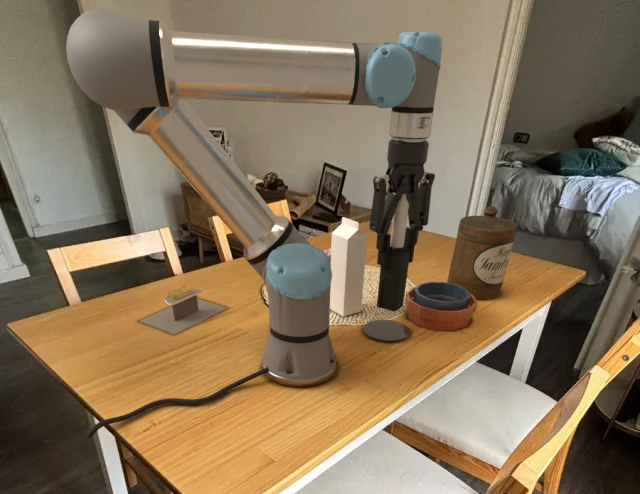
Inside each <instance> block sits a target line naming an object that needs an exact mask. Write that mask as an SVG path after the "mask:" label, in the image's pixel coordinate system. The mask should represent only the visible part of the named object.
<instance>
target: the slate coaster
mask: <svg viewBox="0 0 640 494" xmlns="http://www.w3.org/2000/svg"><path fill="white" fill-rule="evenodd" d="M362 333H363V335H364V336H365V337H366V338H368V339H370V340H372V341H375V342H379V343H385V344H386V343H387V344H389V343H390V344H393V343H400V342H404V341H405V340H406V339H408V338H409V337H410V333H411V331H410V329H409V327H408V326H407V325H405V324H404V323H402V322H399V321H396V320H391V319H375V320H371V321H368V322H366V323H365V324H364V325H363V327H362Z"/></svg>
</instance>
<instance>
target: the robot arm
mask: <svg viewBox="0 0 640 494" xmlns="http://www.w3.org/2000/svg"><path fill="white" fill-rule="evenodd" d="M442 48H443V39H442V36H441V35H440V34H439V33H438V32H432V31H402V32H401V33H400V34H399V35H398V39H397V43H394V42H384V43H372V42H371V43H369V42H352V41H340V40H339V41H338V40H323V39H308V38H307V39H306V38H305V39H304V38H292V37H291V38H290V37H289V38H288V37H274V36H273V37H271V36H257V35H242V34H241V35H239V34H224V33H207V32H193V31H192V32H191V31H174V30H171V28H169V27H168V26H167V24H165V23H164V21H162V20H153V19H152V20H151V19H144V18H137V17H133V16H128V15H124V14H122V13H117V12H116V11H113V10H109V9H103V8H100V9H99V8H97V9H90V10H88V11H85V12H83V13H81V14H80V16H78V17H77V18H76V19H75V20H74V22H73V23H72V24H71V25H70V28H69V30H68V34H67V36H66V47H65V49H66V50H65V51H66V58H67V59H66V60H67V65H68V67H69V70H70V72H71V75H72V76H73V79H74V80H75V82H76V84H77V85H78V87H79V88H80V89H81V90H82V92H83V93H84V94H86V96H87V97H88V98H89V99H90V100H92V101H93V102H94V103H96V104H97V105H99V106H101V107H103V108H105V109H107V110H112V111H114V113H115V114H116V115H117V116H118V117H119V118H120V120H122V122H123V123H124V124H125V125H126V126H127V127H128V128H129V130H130V131H131V132H132V133H133V134H135V135H142V136H147V137H148V138H150V140H151V141H152V142H153V143H154V144H155V146H156V147H157V148H158V149H159V150H160V151H161V152H162V153H163V155H164V156H165V157H166V158H167V159H168V161H169V162H171V164H172V165H173V166H174V167H175V169H177V171H178V172H179V173H180V174H181V175H182V176H183V178H184V179H185V180H186V181H187V182H188V183H189V184H190V186H191V187H192V188H193V189H194V190H195V192H197V194H198V195H199V196H200V197H201V199H202V200H204V202H205V203H206V204H207V205H208V206H209V207H210V209H211V210H212V211H213V212H214V213H215V214H216V216H217V217H218V218H219V219H220V220H221V221H222V222H223V224H224V225H225V226H226V228H228V229H229V231H230V232H231V233H232V234H233V235H234V236H235V237H236V239H237V240H238V241H239V242H240V243H241V244H242V246H243V258H244V259H245V260H246V261H247V263H248V264H249V265H250V266H251V267H252V269H254V270H255V272H256V273H257V274H258V275H259V276H260V277H261V278H262V280H263V281H264V285H265V289H266V293H267V300H268V322H269V335H268V338H267V341H266V345H265V349H264V352H263V355H262V360H261V364H262V365H261V367H262V369H260V370H257V371H255V372H253V373H251V374H249V375H247V376H244V377H243V378H240V379H238V380H236V381H234V382H232V383H230V384H228V385H226V386H224V387H222V388H221V389H219V390H217V391H215V392H214V393H212V394H210V395H207V396H205V397H200V398H178V397H177V398H175V397H170V398H169V397H168V398H162V399H158V400H154V401H152V402H148V403H147V404H144V405H143V406H140V407H139V408H137V409H135V410H133V411H130V412H128V413H125V414H122V415H119V416H115V417H110V418H106V419H103V420H101V421H99V422H97V423H96V424H94V425H93V426H92V427H91V428H90V429H89V430H88V432H87V433H86V435H85V438H86V439H90V438H92V437H93V436H94V435H95V434H96V432H98V431H99V430H100V429H101V428H103V427H105V426H108V425H113V424H116V423H120V422H125V421H128V420H129V419H133V418H134V417H138V416H139V415H140V414H143V413H144V412H146V411H148V410H150V409H152V408H153V409H154V408H155V407H159V406H163V405H167V404H168V405H169V404H181V405H200V404H204V403H208V402H211V401H213V400H215V399H217V398H220V397H221V396H223V395H224V394H225V393H227V392H229V391H231V390H233V389H235V388H237V387H239V386H241V385H243V384H245V383H247V382H249V381H252V380H254V379H256V378H258V377H261V376H263V375H265V377H267V378H268V379H269V380H271V381H272V382H274V383H276V384H279V385H283V386H288V387H295V388H296V387H297V388H303V387H305V388H306V387H312V386H316V385H320V384H323V383H326V382H327V381H328V380H331V378H332V377H333V376H334V375H335V374H336V371H337V361H338V360H337V357H336V354H335V353H336V352H335V349H334V346H333V344H332V340H331V337H330V313H331V309H330V290H331V281H332V270H331V258H330V257H329V256H328V254H326V253H325V252H324V250H323V249H322V248H319V247H316V246H315V245H311V243H310V242H309V241H308V239H307V238H306V237H305V236H303V235H302V234H301V233H300V232H299V231H298V229H297V228H296V227H295V225H294V224H293V223H292V222H291V220H290V219H289V218H288V217H287V216H285V215H284V216H283V215H276V214H275V212H274V211H273V209H271V207H270V206H269V205H268V204H267V202H266V201H265V200H264V199H263V197H262V196H261V195H260V193H259V192H258V190H257V189H256V188H255V187H254V186H253V185H252V183H251V182H250V180H249V179H248V178H247V176H245V174H244V173H243V172H242V170H241V169H240V168H239V167H238V165H237V164H236V162H235V161H234V160H233V159H232V157H231V156H230V155H229V154H228V153H227V151H226V150H225V149H224V148H223V145H222V144H221V143H219V141H218V140H217V138H216V137H215V136H214V135H213V133H212V132H211V131H210V130H209V128H208V127H207V125H206V124H205V123H204V122H203V121H202V119H200V117H199V116H198V114H197V113H196V112H195V111H194V109H193V108H192V107H191V105H190V104H189V103H188V101H187V100H201V101H203V100H205V101H230V102H231V101H232V102H233V101H234V102H260V103H289V104H292V103H293V104H321V105H349V106H365V107H366V106H368V107H377V108H378V109H391V113H390V122H389V123H390V124H389V133H388V135H389V136H390V137H391V138H390V140H389V141H388V145H387V155H386V156H387V157H386V159H387V163H388V165H387V169H386V171H385V174H384V175H381V176H380V177H379V176H374V177H373V179H372V183H373V197H372V205H371V212H370V213H371V214H370V219H369V228H368V229H369V230H370V231H372V232H374V233H376V245H375V249H376V251H377V261H376V264H377V265H379V266H380V267H381V266H383V267H387V266H388V257H389V248H390V241H391V234H390V233H389V230H390V228H391V226H392V222H393V216H394V213H395V210H396V207H397V204H398V201H399V200H400V199H401V197H402V195H403V194H405V193H406V199H407V201H408V204H409V208H408V216H407V220H408V226H409V227H406V232H405V240H404V244H406V245H407V246H408V248H410V249H411V250H410V257H409V264H410V263H413V261H414V253H415V246H416V245H417V244H418V240H419V239H418V238H419V233H420V232H422V231H423V229H424V227H426V226H427V225H428V223H429V217H430V207H431V197H432V188H433V185H434V181H435V179H436V174H435V173H432V172H429V171H425V166H424V165H425V164H426V163H427V161H428V154H429V148H430V143H429V141H428V140H427V139H429V138H430V137H431V133H432V132H431V131H432V123H433V116H434V109H435V108H434V107H435V101H436V94H437V87H438V81H439V76H440V70H441V62H442V52H443V51H442V50H443V49H442Z"/></svg>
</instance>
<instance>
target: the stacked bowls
mask: <svg viewBox="0 0 640 494" xmlns="http://www.w3.org/2000/svg"><path fill="white" fill-rule="evenodd" d="M404 304H405V307H406V309H405V314H406V316H407V319H408V321H411V322H412V323H414V324H416V325H417V326H419V327H423V328H427V329H431V330H435V331H455V330H459V329H463V328H465V327H467V326H468V324H469V323H470V322H471V321H472V318H473V316H474V314H475V312H476V311H477V305H478V299H475V297H474V296H473V295H472V294H470V293H469V292H468V290H467V289H465V288H463V287H461V286H459V285H456V284H451V283H447V282H446V281H427V282H421V283H419V284H418V285H417V286H414V287H413V286H412V287H411V288H410V289H409V290H408V291H407V292H405V297H404Z"/></svg>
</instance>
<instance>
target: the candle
mask: <svg viewBox="0 0 640 494" xmlns="http://www.w3.org/2000/svg"><path fill="white" fill-rule="evenodd" d="M408 208H409V204H408V201H407V199H406V193H405V194H403V195H402V197H401V199H400V200H399V201H398V204H397V207H396V210H395V213H394V216H393V219H392V222H391V233H390V235H391V238H390V248H389V257H388V266H387V267H383V266H381V265H380V269H379V277H378V289H377V298H376V299H377V300H376V307H377V309H378V308H379V309H382V310H383V309H384V310H387V311H390V312H397V311H399V310H400V309H401V308H402V307H403V306H404V303H405V296H406V286H407V278H408V272H409V264H410V263H409V257H410V250H411V249H410V248H408V246H407V245H406V244H404V240H405V232H406V228H407V224H408Z"/></svg>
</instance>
